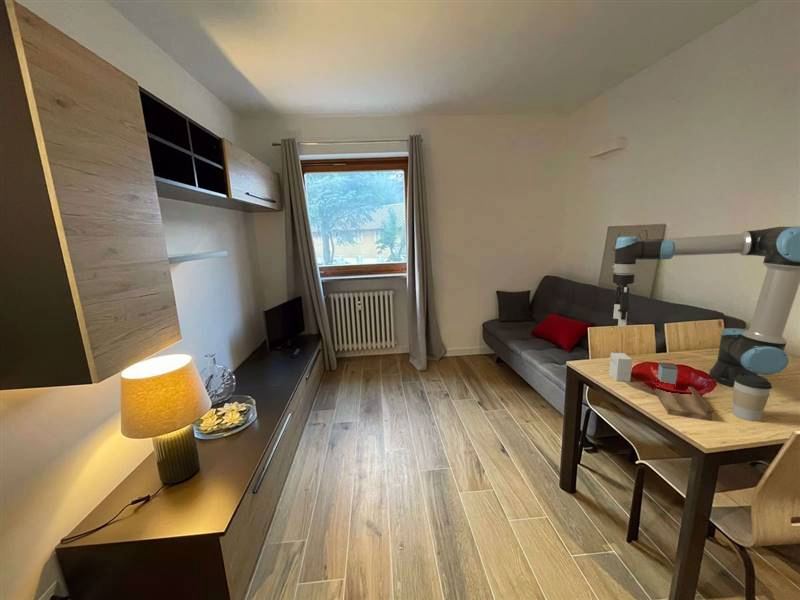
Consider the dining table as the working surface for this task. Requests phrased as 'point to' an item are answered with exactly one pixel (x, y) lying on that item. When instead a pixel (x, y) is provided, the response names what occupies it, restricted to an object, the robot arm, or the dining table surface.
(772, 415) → the dining table surface
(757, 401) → the coffee cup
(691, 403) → the board
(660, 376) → the grey tall block
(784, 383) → the dining table surface
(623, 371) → the small box
